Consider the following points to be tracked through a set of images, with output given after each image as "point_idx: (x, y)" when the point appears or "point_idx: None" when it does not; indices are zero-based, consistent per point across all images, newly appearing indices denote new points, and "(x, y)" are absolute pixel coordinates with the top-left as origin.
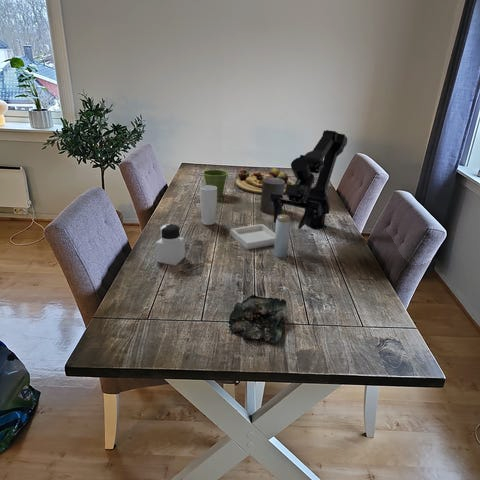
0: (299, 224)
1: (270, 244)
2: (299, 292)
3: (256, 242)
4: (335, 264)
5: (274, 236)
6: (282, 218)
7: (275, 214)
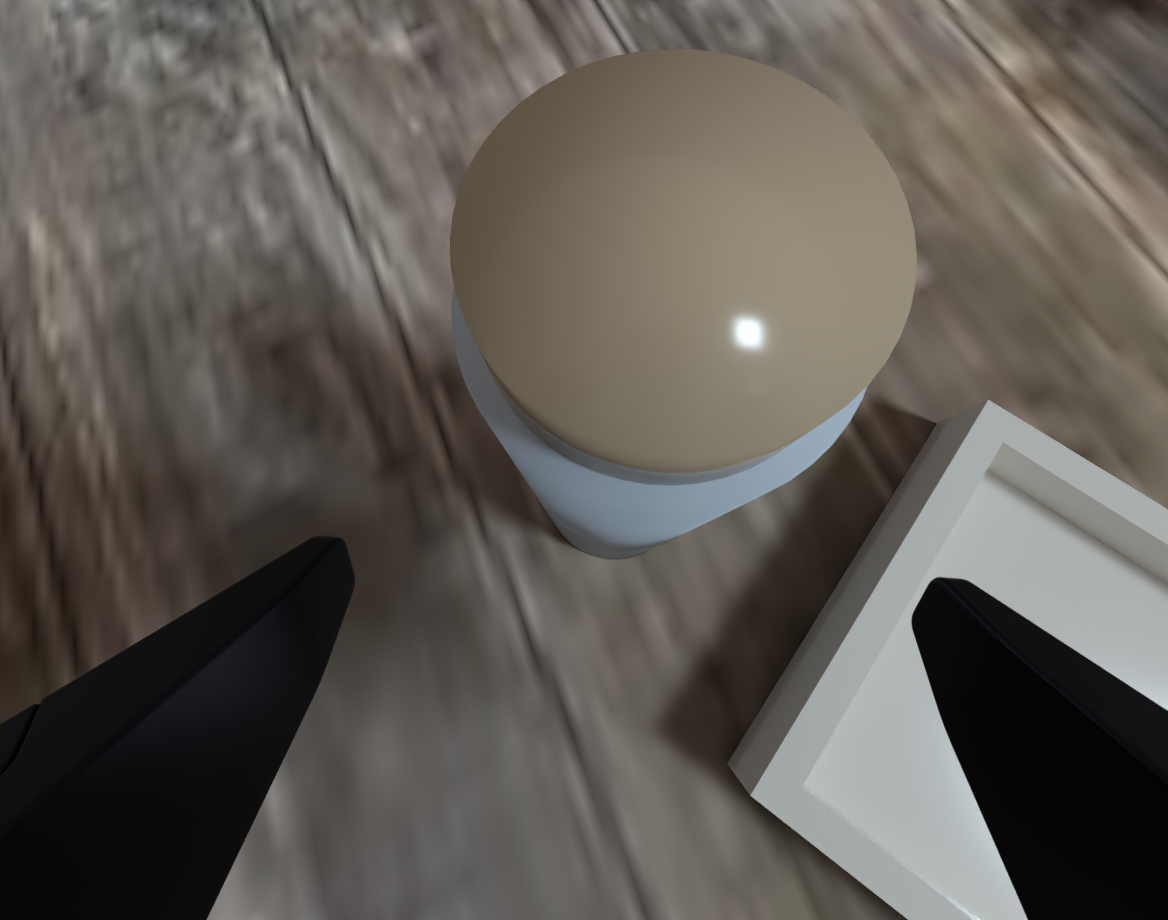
0: (290, 573)
1: (802, 649)
2: (290, 39)
3: (925, 494)
4: (79, 573)
5: (851, 823)
6: (645, 71)
7: (1140, 723)
